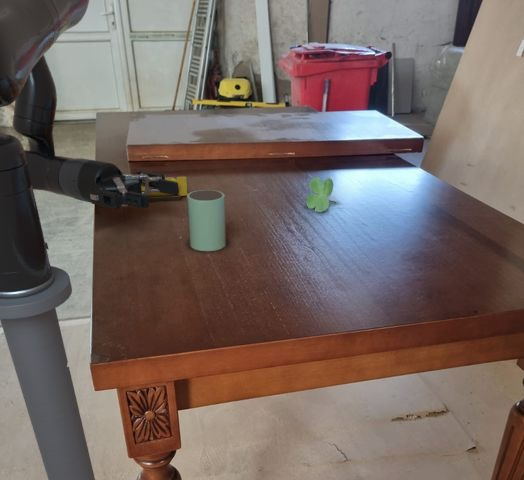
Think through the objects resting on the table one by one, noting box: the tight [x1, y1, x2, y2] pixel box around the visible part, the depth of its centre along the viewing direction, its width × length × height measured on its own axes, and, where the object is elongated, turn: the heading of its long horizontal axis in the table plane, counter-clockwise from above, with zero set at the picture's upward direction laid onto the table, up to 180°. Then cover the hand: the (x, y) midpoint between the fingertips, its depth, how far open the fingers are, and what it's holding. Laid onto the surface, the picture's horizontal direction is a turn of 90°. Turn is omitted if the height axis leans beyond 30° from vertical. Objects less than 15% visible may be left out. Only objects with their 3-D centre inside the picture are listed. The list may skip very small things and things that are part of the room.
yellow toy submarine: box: [141, 175, 188, 202], centre depth 110 cm, size 10×4×5 cm, turn 102°
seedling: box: [305, 176, 337, 213], centre depth 108 cm, size 7×8×6 cm
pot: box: [186, 189, 227, 252], centre depth 88 cm, size 6×6×8 cm
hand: (163, 195), depth 90 cm, fingers open, 8 cm apart
